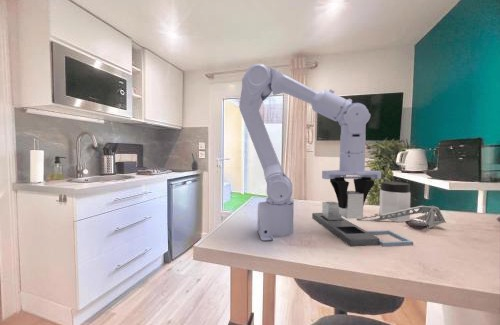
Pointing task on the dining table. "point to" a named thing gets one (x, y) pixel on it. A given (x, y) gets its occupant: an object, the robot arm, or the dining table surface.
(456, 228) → the dining table surface
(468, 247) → the dining table surface
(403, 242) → the tray
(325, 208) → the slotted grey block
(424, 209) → the bracket
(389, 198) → the jar
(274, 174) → the robot arm
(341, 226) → the slotted metal plate
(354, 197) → the light grey rectangular block
